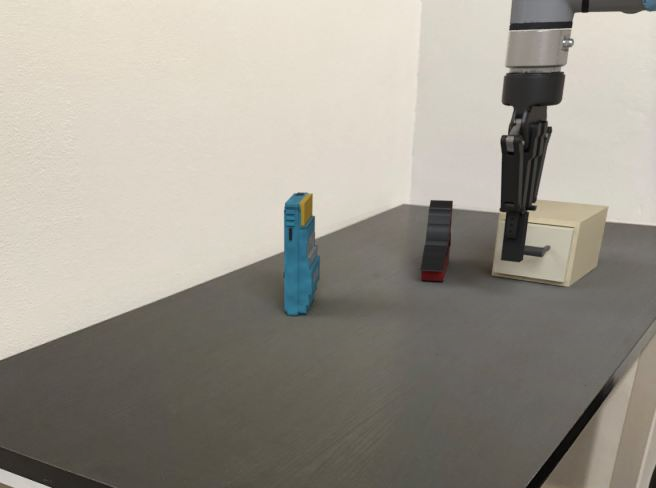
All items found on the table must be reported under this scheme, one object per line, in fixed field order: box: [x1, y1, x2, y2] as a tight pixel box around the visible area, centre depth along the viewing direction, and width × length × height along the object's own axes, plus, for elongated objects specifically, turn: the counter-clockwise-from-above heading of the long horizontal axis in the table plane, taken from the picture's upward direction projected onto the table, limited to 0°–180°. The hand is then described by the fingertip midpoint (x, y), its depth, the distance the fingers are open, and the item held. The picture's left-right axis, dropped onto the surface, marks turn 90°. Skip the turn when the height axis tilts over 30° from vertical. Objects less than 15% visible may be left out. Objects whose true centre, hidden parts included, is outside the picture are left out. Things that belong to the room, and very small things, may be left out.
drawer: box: [492, 220, 575, 282], centre depth 125 cm, size 18×11×8 cm, turn 144°
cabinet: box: [491, 199, 609, 288], centre depth 128 cm, size 15×13×10 cm
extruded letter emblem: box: [420, 199, 454, 282], centre depth 128 cm, size 18×4×11 cm, turn 165°
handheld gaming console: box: [283, 191, 321, 317], centre depth 112 cm, size 10×4×15 cm, turn 169°
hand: (511, 259), depth 112 cm, fingers closed
